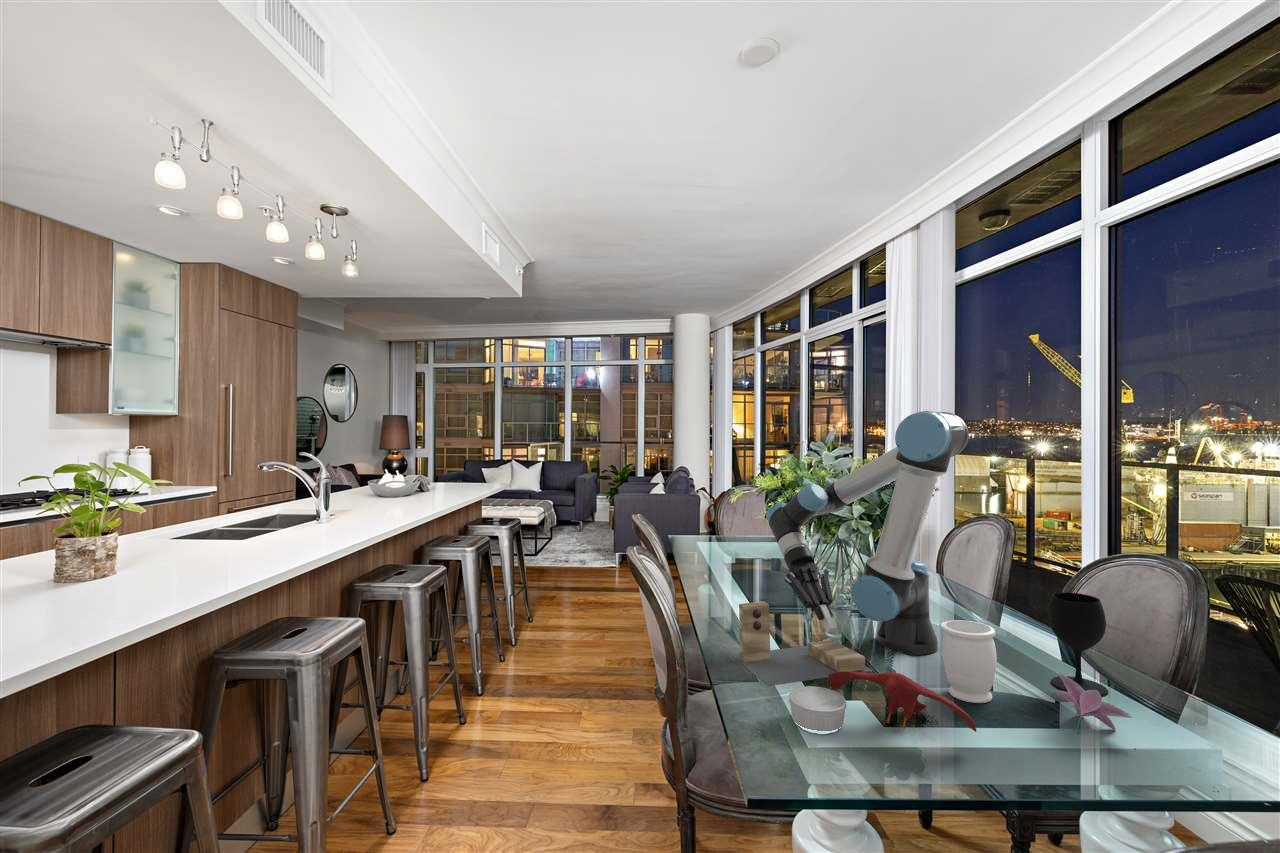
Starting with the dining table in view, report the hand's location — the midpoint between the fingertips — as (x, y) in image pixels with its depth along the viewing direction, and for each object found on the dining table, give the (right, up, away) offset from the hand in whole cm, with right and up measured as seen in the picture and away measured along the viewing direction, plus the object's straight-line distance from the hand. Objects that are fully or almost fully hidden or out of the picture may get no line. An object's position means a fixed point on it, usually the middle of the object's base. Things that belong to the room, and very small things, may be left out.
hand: (831, 630), depth 150 cm
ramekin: (-13, -8, -32) cm, 35 cm away
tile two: (-19, -8, +2) cm, 21 cm away
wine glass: (+50, -7, -18) cm, 53 cm away
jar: (+24, -7, -21) cm, 32 cm away
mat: (-8, -8, -1) cm, 12 cm away
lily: (+38, -7, -36) cm, 53 cm away
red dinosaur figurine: (+3, -8, -32) cm, 33 cm away
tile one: (-1, -6, +5) cm, 8 cm away
